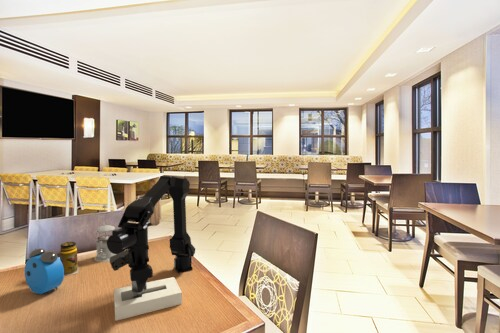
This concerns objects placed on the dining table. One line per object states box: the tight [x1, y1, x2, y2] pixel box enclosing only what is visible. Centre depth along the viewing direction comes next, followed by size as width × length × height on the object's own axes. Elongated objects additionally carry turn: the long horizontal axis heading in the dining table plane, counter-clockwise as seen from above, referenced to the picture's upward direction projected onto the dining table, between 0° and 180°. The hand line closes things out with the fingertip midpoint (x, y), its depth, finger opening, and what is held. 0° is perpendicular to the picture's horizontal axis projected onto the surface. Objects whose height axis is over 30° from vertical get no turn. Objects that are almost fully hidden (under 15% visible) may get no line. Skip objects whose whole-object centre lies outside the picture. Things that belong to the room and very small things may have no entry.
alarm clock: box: [24, 247, 64, 295], centre depth 97 cm, size 13×6×15 cm, turn 67°
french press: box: [93, 204, 116, 263], centre depth 127 cm, size 10×12×25 cm
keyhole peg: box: [131, 281, 148, 299], centre depth 90 cm, size 5×5×9 cm
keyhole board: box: [113, 276, 183, 322], centre depth 91 cm, size 20×12×4 cm, turn 118°
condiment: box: [59, 241, 80, 276], centre depth 112 cm, size 7×8×12 cm
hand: (139, 288), depth 90 cm, fingers closed on keyhole peg, 5 cm apart
